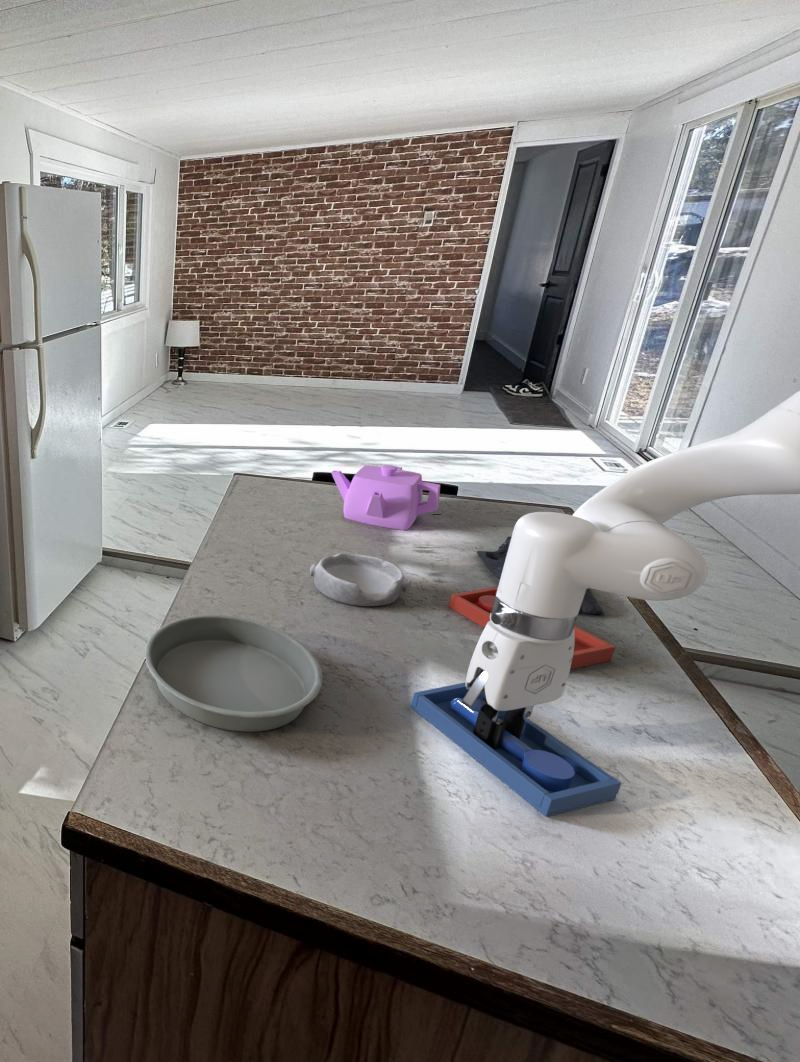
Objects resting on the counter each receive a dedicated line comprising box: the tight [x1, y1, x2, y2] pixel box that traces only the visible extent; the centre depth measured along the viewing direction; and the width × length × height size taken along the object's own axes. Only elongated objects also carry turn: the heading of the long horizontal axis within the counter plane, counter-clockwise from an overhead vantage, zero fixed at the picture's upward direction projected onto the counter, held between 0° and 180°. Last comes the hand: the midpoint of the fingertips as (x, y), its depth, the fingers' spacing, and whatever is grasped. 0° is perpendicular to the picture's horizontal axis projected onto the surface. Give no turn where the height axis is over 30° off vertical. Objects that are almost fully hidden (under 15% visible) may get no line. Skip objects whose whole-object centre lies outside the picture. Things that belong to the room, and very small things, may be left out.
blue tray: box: [410, 681, 622, 817], centre depth 80 cm, size 19×10×2 cm, turn 12°
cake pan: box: [144, 614, 323, 733], centre depth 95 cm, size 25×25×4 cm
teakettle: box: [330, 464, 441, 531], centre depth 145 cm, size 17×17×12 cm
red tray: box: [448, 586, 616, 670], centre depth 103 cm, size 19×10×2 cm, turn 12°
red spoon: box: [477, 595, 575, 650], centre depth 103 cm, size 15×5×2 cm, turn 12°
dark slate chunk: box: [476, 535, 605, 615], centre depth 116 cm, size 15×22×5 cm
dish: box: [309, 552, 412, 607], centre depth 117 cm, size 14×14×5 cm
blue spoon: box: [450, 698, 575, 792], centre depth 80 cm, size 15×5×2 cm, turn 12°
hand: (495, 738), depth 82 cm, fingers closed on blue spoon, 2 cm apart
